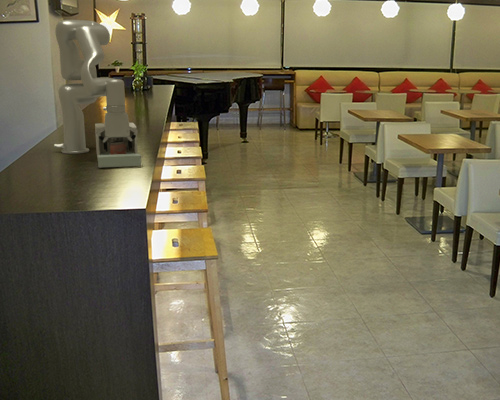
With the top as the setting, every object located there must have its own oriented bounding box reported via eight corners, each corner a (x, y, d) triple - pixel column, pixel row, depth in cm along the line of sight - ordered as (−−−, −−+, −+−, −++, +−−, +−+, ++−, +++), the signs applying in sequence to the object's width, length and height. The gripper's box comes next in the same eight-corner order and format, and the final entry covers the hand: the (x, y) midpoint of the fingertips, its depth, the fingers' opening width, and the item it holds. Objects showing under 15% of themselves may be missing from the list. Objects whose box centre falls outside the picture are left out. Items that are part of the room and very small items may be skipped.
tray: (141, 165, 244) (140, 155, 243) (98, 167, 240) (98, 157, 239) (137, 157, 263) (136, 147, 262) (97, 159, 259) (96, 149, 258)
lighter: (123, 157, 256) (122, 134, 254) (128, 158, 254) (127, 135, 252) (108, 160, 250) (107, 136, 248) (113, 161, 248) (112, 137, 246)
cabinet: (138, 160, 260) (136, 127, 256) (97, 162, 255) (95, 128, 252) (134, 153, 277) (133, 122, 273) (96, 155, 272) (95, 123, 269)
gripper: (94, 111, 241) (97, 153, 245) (138, 110, 246) (139, 151, 250) (94, 109, 248) (96, 150, 252) (136, 108, 253) (138, 148, 257)
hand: (118, 150), depth 251 cm, fingers open, 9 cm apart
